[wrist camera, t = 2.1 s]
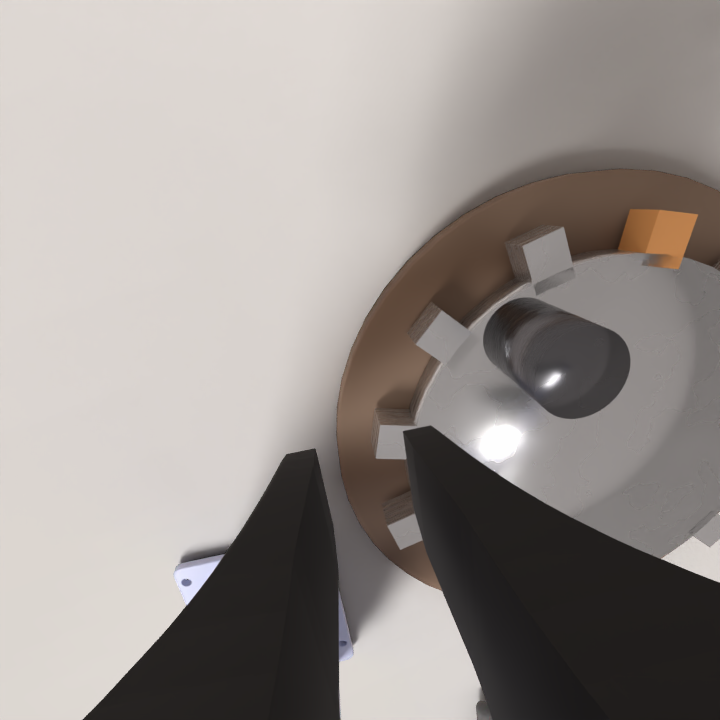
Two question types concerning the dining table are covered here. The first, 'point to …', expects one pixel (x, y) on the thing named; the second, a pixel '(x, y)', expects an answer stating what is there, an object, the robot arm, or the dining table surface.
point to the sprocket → (583, 384)
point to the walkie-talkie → (483, 711)
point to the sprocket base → (465, 291)
